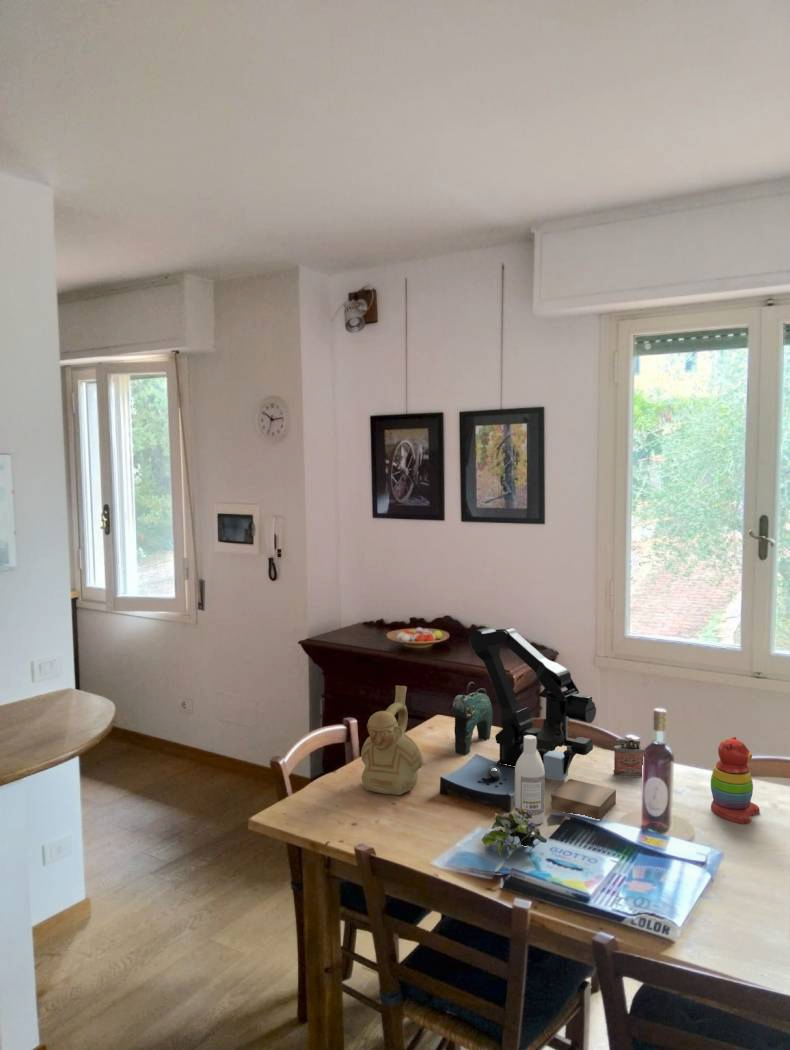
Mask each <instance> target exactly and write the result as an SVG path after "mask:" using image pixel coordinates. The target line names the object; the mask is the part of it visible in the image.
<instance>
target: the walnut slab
mask: <svg viewBox="0 0 790 1050" xmlns="http://www.w3.org/2000/svg"><path fill="white" fill-rule="evenodd" d="M616 801H617V789H615V788H610V787H607V786H603V785H600V784H594V783H590V782H585V781H581V780H577V779H572V778H569V779H568V780H566V782H564V783H563V784H561V786H560V787H559V788H558V789H556V790H555V791H554V792H553V793H552V794H551V795H550V810H552V811H555V812H559V813H563V812H565V813H564V814H567V813H573V814H580V815H585V816H588V817H592V818H595V819H601V820H602V819H603V818H604V817H605V816H606V815H608V813H609V811H611V810H612V808H613V807H614V806H615V805H616V804H617V802H616Z"/></svg>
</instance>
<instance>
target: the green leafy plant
mask: <svg viewBox="0 0 790 1050" xmlns="http://www.w3.org/2000/svg"><path fill="white" fill-rule="evenodd" d="M515 809H516V811H517V812H518V813H519V814H520V815H522V818H521V817H520V816H519V815H518V816H517V815H516V814H515V812H511V811H510V812H509V813H508V812H504V813H503V814H502V815H499V814H498V813H494V820H495V822H494V823H493V825H492V826H491V829H492V830H491V831H489V832H488V833H486V832H485V835H484V836H483V837H482V839H481V841H482V843H483V845H485V847H487V846H488V847H490V846H491V845H494V844H498V847H497V851H498V854H499V856H502V850H503V847H504V846H505V845H506V846H507V847H506V851H507V857H509V858H510V856H511V855H512V853H513V852H514V851H516V850H517V847H518V846H519V845H520V846H522V845H523V846H527V847H530V848H533V847H534V848H535V843H534V842H535V841H536V840H538V841H539V842H541V843H543V844H546V843H547V842H548V839H547V838H546V837H544V836H542V835H541V831H540V830H541V829H540V828H538V827H536V826H537V825H536V824H535V823H533V822H531V823H528V822H529V820H524V818H526V819H528V818H532V815H530V813H529V812H526V811H525V810H523V809H519V808H515V807H514V810H515ZM495 828H500V829H495ZM503 829H504V830H503ZM510 837H511V838H512V841H511V840H510ZM515 838H518V840H519V842H518V843H516V844H514V842H515ZM489 845H490V846H489ZM523 846H522V847H523Z"/></svg>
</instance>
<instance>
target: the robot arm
mask: <svg viewBox="0 0 790 1050" xmlns="http://www.w3.org/2000/svg"><path fill="white" fill-rule="evenodd" d="M468 640H469V641H468V642H469V644H470V647H471V648H472V650H473V652H474V654H475V655H476V656H477V657H478V658H479V660H481V661H482V662H483V664H484V666H485V667H484V668H485V669H486V672H487V675H488V677H489V680H490V682H491V685H492V687H493V691H494V693H495V696H496V698H497V700H498V701H497V702H498V703H499V706H500V709H501V718H500V723H501V727H502V729H501V730H499V732H498V733H496V734H495V735H494V738H495V741H496V743H497V744H499V759H498V760H496V764H497V763H501V764H507V765H511V766H516V763H517V761H518V759H519V757H520V756H521V754H522V753H523V752H524V736H526V735H533V736H535V737H536V751H537V753H539V754H538V755H539V757H540V759H541V761H542V763H543V761H544V755H545V754H546V753H547V752H549V751H556V749H557V747H560V748H562V747H563V746H564V747H566V749H565V750H564V751H562V752H563V754H564V774H566V773H567V771H568V772H569V768H570V766H571V764H572V761H573V759H574V758H575V756H576V755H580V756H587V755H588V754H589V753H590V752H592V751H593V750H594V743H593V741H592V739H591V738H587V737H582V736H577V737H576V738H575V739H570V738H568V737H569V735H570V732H569V731H568V722H569V721H570V720H573V721H578V722H581V723H586V724H592V723H593V722H594V720H595V718H596V715H597V707H596V703H595V702H594V701H593V697H592V696H591V695H582V694H580V691H579V689H578V687H577V686H576V684H575V681H573V679H572V676H571V675H572V674H571V673H570V671H569V670H568V669H567V668H566V667H564V666H563V665H562V664H560V663H558V662H556V661H552V660H550V659H548V658H547V657H545V656H544V655H543V654H542V653H541V652H540V651H538V649H536V648H535V647H534V646H533V645H532V644H530V643H529V642H528V641H527V639H525V638H524V637H522V636H521V635H520V634H519V633H518V631H517V630H516V629H515V628H513V627H508V628H500V629H495V628H493V627H489V626H487V627H483V628H480V629H477V630H473V631H472V632H471V633H470V635H469V637H468ZM502 644H503V645H505V646H506V647H507V648H508V649H509V650H510V651H511V652H512V653H513V654H514V655H516V656H517V657H518V658H519V660H521V661H522V662H523V663H524V664H526V666H527V667H529V668H530V669H531V670H532V671H533V672H534V673H535V676H536V678H537V681H538V682H539V683H540V684H541V685H542V687H543V690H542V691H541V692H539V693H538V696H539V697H540V698H545V719H543V724H542V727H541V728H538V727H534V724H533V722H534V719H533V718H532V715H531V714H530V713H531V712H530V709H529V708H528V707H525V708H523V706H521V705H520V704H519V702H518V699H517V697H516V695H515V693H514V689H513V686H512V684H511V681H510V680H509V676H508V675H507V672H506V669H505V667H504V664H503V661H502V659H501V656H500V654H501V645H502ZM564 689H566V690H564ZM563 690H564V691H563ZM501 764H500V765H501Z"/></svg>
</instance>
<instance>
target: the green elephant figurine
mask: <svg viewBox="0 0 790 1050" xmlns="http://www.w3.org/2000/svg"><path fill="white" fill-rule="evenodd" d="M471 684H472V686H475V682H473V681H470V682H468V684H467V687H466V694H467V695H465V694H457V695H456V696H455V698H454V699H453V701H452V710H451V711H452V714H453V715H454V749H455V750H454V751H455V752H454V753H455V754H459V755H463V756H466V755H468V754H470V751H471V747H472V745H471V744H472V737H473V734H474V729H475V727H476V730H477V739H478V738H479V740H482V739H484V741H487V739H488V740H489V739H490V738H491V734H492V732H491V731H492V725H493V707H492V703H491V699H490V697H489V696H488V695H487V689H486V688H482V687H481V688H478V689H477V690H476V691H474V692H472V693H469V688H470V685H471ZM479 691H483V692H484V693H482V692H479Z"/></svg>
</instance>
